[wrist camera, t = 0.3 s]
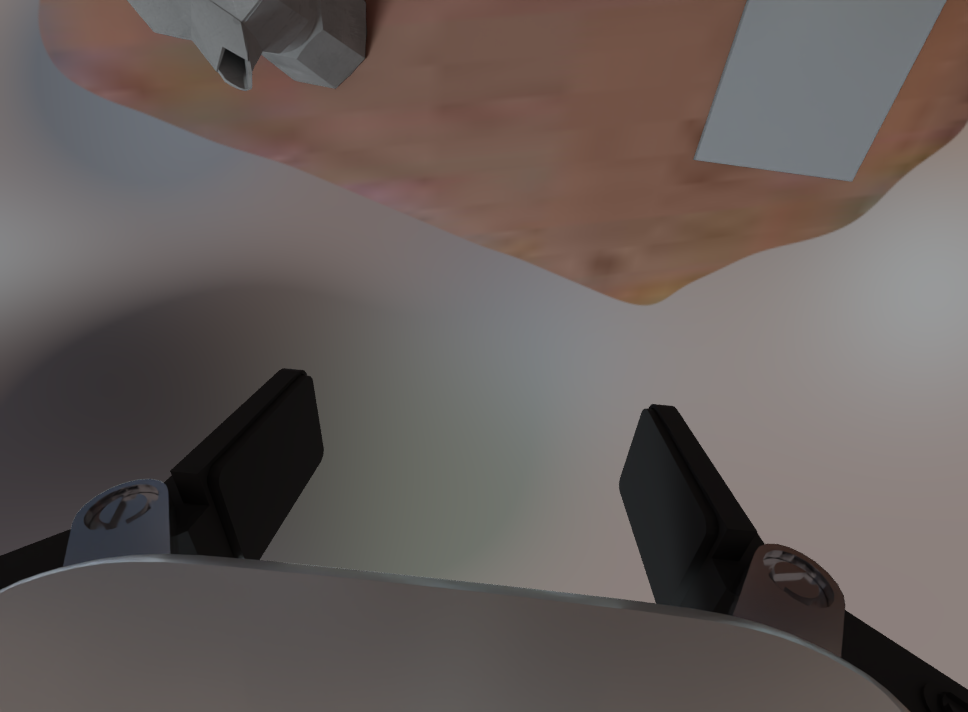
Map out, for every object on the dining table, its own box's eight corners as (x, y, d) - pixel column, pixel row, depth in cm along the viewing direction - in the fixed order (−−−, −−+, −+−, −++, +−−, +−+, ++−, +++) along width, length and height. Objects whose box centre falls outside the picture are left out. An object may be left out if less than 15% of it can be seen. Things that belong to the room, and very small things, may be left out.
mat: (793, -139, 26) (797, -143, 25) (998, -110, 26) (1005, -114, 25) (693, 159, 34) (695, 159, 34) (848, 181, 34) (852, 181, 34)
